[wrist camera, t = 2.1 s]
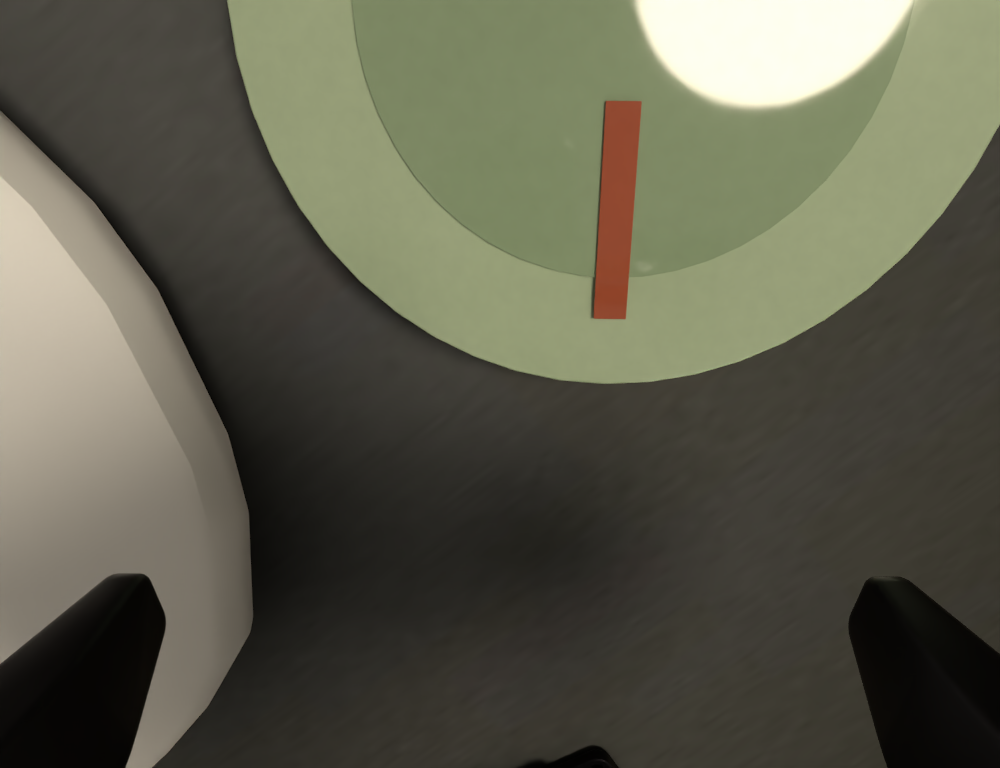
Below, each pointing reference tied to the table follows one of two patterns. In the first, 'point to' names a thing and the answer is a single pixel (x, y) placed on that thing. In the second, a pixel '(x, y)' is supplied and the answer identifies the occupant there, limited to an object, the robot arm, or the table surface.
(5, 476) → the white round disc
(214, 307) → the table surface
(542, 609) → the table surface
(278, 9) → the green disc with post
